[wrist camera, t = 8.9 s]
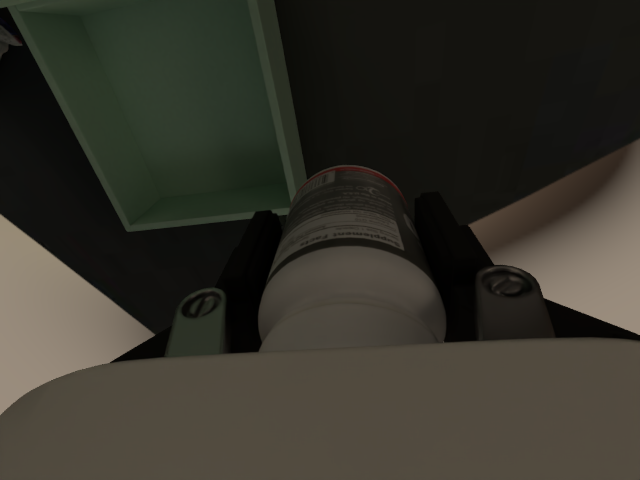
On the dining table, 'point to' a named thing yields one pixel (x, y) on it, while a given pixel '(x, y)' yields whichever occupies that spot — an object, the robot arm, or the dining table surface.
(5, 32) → the packaged food
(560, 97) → the dining table surface
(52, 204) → the dining table surface
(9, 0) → the lunchbox lid
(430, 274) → the pill bottle
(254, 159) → the box
